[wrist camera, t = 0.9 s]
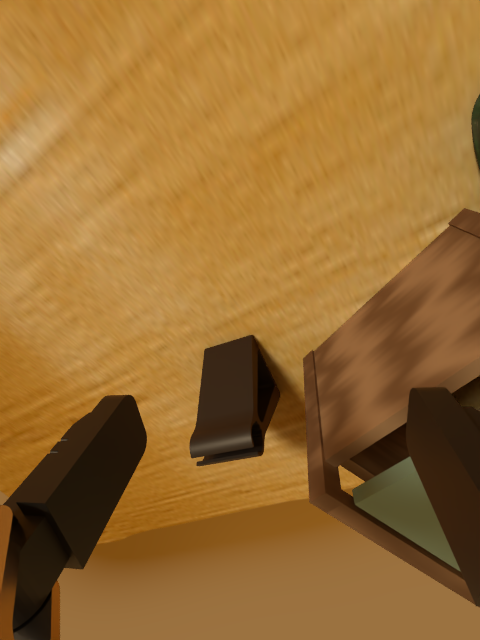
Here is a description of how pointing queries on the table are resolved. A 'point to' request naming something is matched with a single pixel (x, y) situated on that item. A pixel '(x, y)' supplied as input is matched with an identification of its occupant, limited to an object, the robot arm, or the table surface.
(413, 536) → the trapdoor
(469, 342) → the wooden crate
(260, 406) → the phone stand
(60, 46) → the table surface
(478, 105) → the coffee jar
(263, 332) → the table surface
